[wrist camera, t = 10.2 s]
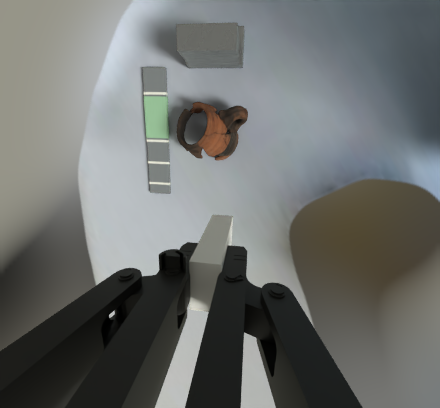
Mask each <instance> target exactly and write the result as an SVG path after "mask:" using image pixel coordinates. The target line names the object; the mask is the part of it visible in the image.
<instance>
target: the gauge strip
mask: <svg viewBox="0 0 440 408" xmlns="http://www.w3.org/2000/svg"><path fill="white" fill-rule="evenodd" d="M143 83H144V108H145V124H146V138H147V148H148V164H149V180H150V182H149V184H150V193H164V194H170V193H171V189H170V184H171V182H170V161H169V124H168V97H167V74H166V68H165V67H146V68H143Z"/></svg>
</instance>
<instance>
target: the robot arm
mask: <svg viewBox="0 0 440 408" xmlns="http://www.w3.org/2000/svg"><path fill="white" fill-rule="evenodd" d="M232 223H233V216H224V215H212V217H211V219H210V221H209V223H208V225H207V227H206V229H205V231H204V233H203V235H202V237H201V239H200V241H199V243H190V242H187V243H186V244H184V245H183V246H182V247H181V248H180V250H177V249H171V250H166V251H164V252H162V253H160V254H159V269H160V270H159V272H158V273H157V274H156V275H152V276H143V277H142V274H141V272H140V270H138V269H135V268H126V269H122V270H119V271H118V272H116V273H114V274H113V275H111V276H110V277H108V278H107V279H105V280H104V281H102V282H101V283H99V284H98V285H97V286H95V287H94V288H92V289H91V290H89V291H88V292H86V293H85V294H83V295H82V296H80V297H79V298H78V299H76V300H75V301H73V302H72V303H70V304H69V305H67V306H66V307H64V308H63V309H62V310H60V311H59V312H57V313H56V314H54V315H53V316H51V317H50V318H48V319H47V320H45V321H44V322H43V323H41V324H40V325H38V326H37V327H35V328H34V329H32V330H31V331H29V332H28V333H27V334H25V335H23V336H22V337H21V338H19V339H18V340H16V341H15V342H13V343H12V344H10V345H9V346H7V347H6V348H4V349H3V350H2V351H0V408H155V405H156V402H157V400H158V397H159V394H160V391H161V388H162V386H163V383H164V380H165V377H166V374H167V372H168V369H169V366H170V363H171V360H172V358H173V355H174V352H175V349H176V346H177V344H178V341H179V338H180V335H181V332H182V330H183V327H184V324H185V321H186V318H187V307H188V304H189V302H190V309H191V310H198V311H206V312H209V314H208V318H207V322H206V326H205V330H204V334H203V338H202V342H201V346H200V350H199V354H198V358H197V362H196V366H195V370H194V374H193V378H192V382H191V386H190V390H189V394H188V398H187V402H186V406H185V408H240V407H241V385H242V362H243V340H244V332H245V333H247V334H249V335H252V336H254V337H256V338H257V344H258V348H259V351H260V354H261V358H262V361H263V365H264V368H265V372H266V375H267V378H268V382H269V385H270V389H271V392H272V396H273V399H274V402H275V406H276V408H362V406H361V405H360V403H359V401H358V400H357V398H356V396H355V395H354V393H353V391H352V390H351V388H350V386H349V385H348V383H347V381H346V380H345V378H344V377H343V375H342V373H341V372H340V370H339V368H338V367H337V365H336V363H335V362H334V360H333V358H332V357H331V355H330V354H329V352H328V350H327V349H326V347H325V346H324V344H323V342H322V340H321V339H320V337H319V336H318V334H317V332H316V331H315V329H314V327H313V326H312V324H311V322H310V321H309V319H308V317H307V316H306V314H305V312H304V311H303V309H302V308H301V306H300V304H299V303H298V301H297V299H296V298H295V296H294V294H293V293H292V291H291V290H290V289H289V288H288V287H286V286H284V285H282V284H279V283H267V284H265V285H264V286H263V287H262V288H260V287H257V286H255V285H253V284H251V283H250V282H249V281H248V280H247V278H246V266H247V250H246V249H245V248H244V247H240V246H231V243H232ZM114 310H115V315H114V316H113V317H111V318H109V314H110V313H112V312H113V311H114Z"/></svg>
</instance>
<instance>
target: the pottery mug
mask: <svg viewBox="0 0 440 408" xmlns="http://www.w3.org/2000/svg"><path fill="white" fill-rule="evenodd" d="M202 110H204V111H205V113H206V114H207V128H206V131H205V134H204V135H203V137H202V138H201V139H200V140H199V141H198V142H197V143H195V144H192V145H190V144H187V143H186V141H185V139H184V131H185V126H186V123H187V121H188V119H189V118H190V117H191V115H192V114H193V113H200V112H201V111H202ZM216 111H217V109H216V108H214V107H213V106H211V105H208V104H203V103H200V102H196V103H193V108H192V109H191V110H190V111H189V110H187V109H184V111H183V112H182V114H181V116H180V117H179V120H178V124H177V138H178V141H179V143H180V144H181V145H182V146H183V147H184V148H185V149H186V150H187V151H189V152H190V153H191V154H192V155H194V156H195V157H196V158H202V155H201V151H202V148H203V149H204V151H205V152H206V153H207V154H208V156H212V157H214V156H216V155H218V156H219V157H216V158H215V160H223V159H226V158H228V157H229V156H230V155H231V154H232V153H233V152H234V151H235V149H236V147H237V144H238V134H237V131H238V129H239V128H240V126H241V125H243V124H244V123H245V122H246V121H247V117H248V112H247V109H245V108H243V107H242V106H234V107H231V108H229V109H228V110H220V111H219V113H218V114H219V115H217V114H216V113H215V112H216ZM227 129H228V130H229V132H230V133H228V134H226V132H227Z"/></svg>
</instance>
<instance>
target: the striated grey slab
mask: <svg viewBox="0 0 440 408" xmlns="http://www.w3.org/2000/svg"><path fill="white" fill-rule="evenodd" d="M176 31H177V52H178V53H179V54H180V55H181V56H182V57H183V58H184V60H185V61H186V65H187V66H188V68H243V50H244V26H238V23H209V24H176Z"/></svg>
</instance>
